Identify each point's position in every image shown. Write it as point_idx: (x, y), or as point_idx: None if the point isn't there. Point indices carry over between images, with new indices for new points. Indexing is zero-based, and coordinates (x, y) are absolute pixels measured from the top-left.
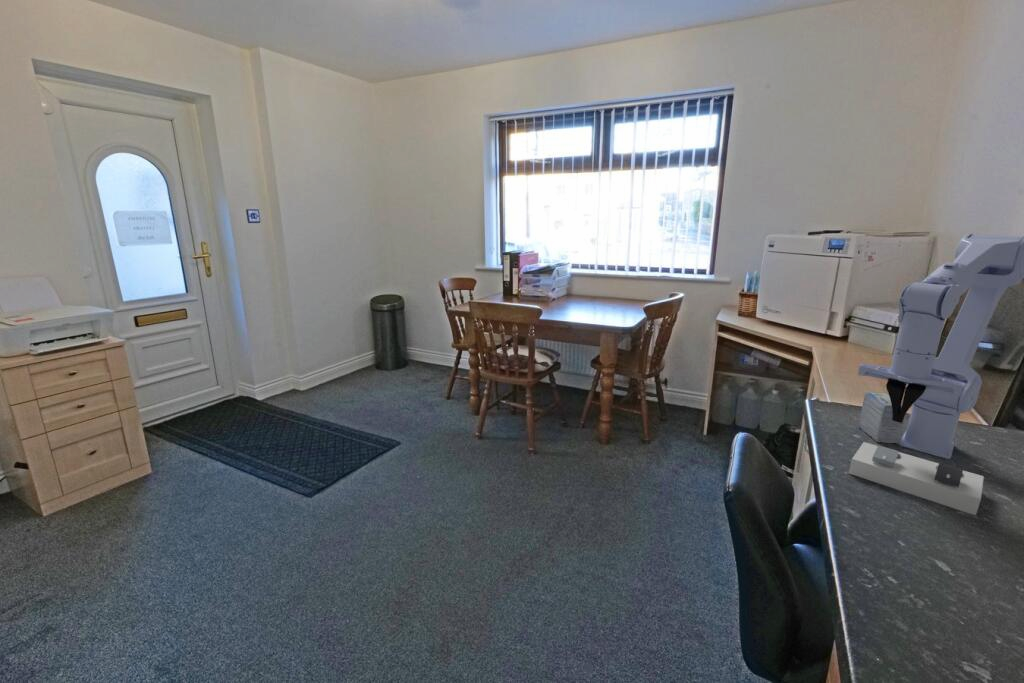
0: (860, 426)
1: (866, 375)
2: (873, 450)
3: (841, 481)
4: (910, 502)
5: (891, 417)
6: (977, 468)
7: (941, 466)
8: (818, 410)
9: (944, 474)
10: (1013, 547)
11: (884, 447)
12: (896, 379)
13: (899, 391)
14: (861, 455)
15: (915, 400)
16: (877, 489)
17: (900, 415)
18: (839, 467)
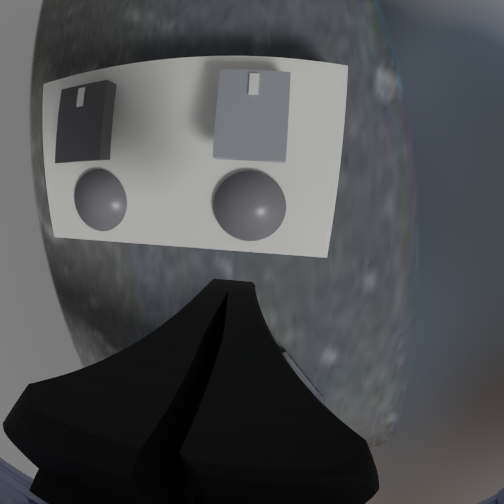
0: (321, 398)
1: (489, 498)
2: (294, 200)
3: (340, 13)
4: (178, 22)
5: None
6: (110, 339)
7: (94, 141)
8: (391, 417)
9: (88, 99)
10: (39, 22)
11: (262, 157)
12: None
13: (215, 436)
14: (325, 119)
15: (92, 366)
16: (254, 28)
17: (213, 295)
18: (362, 101)
